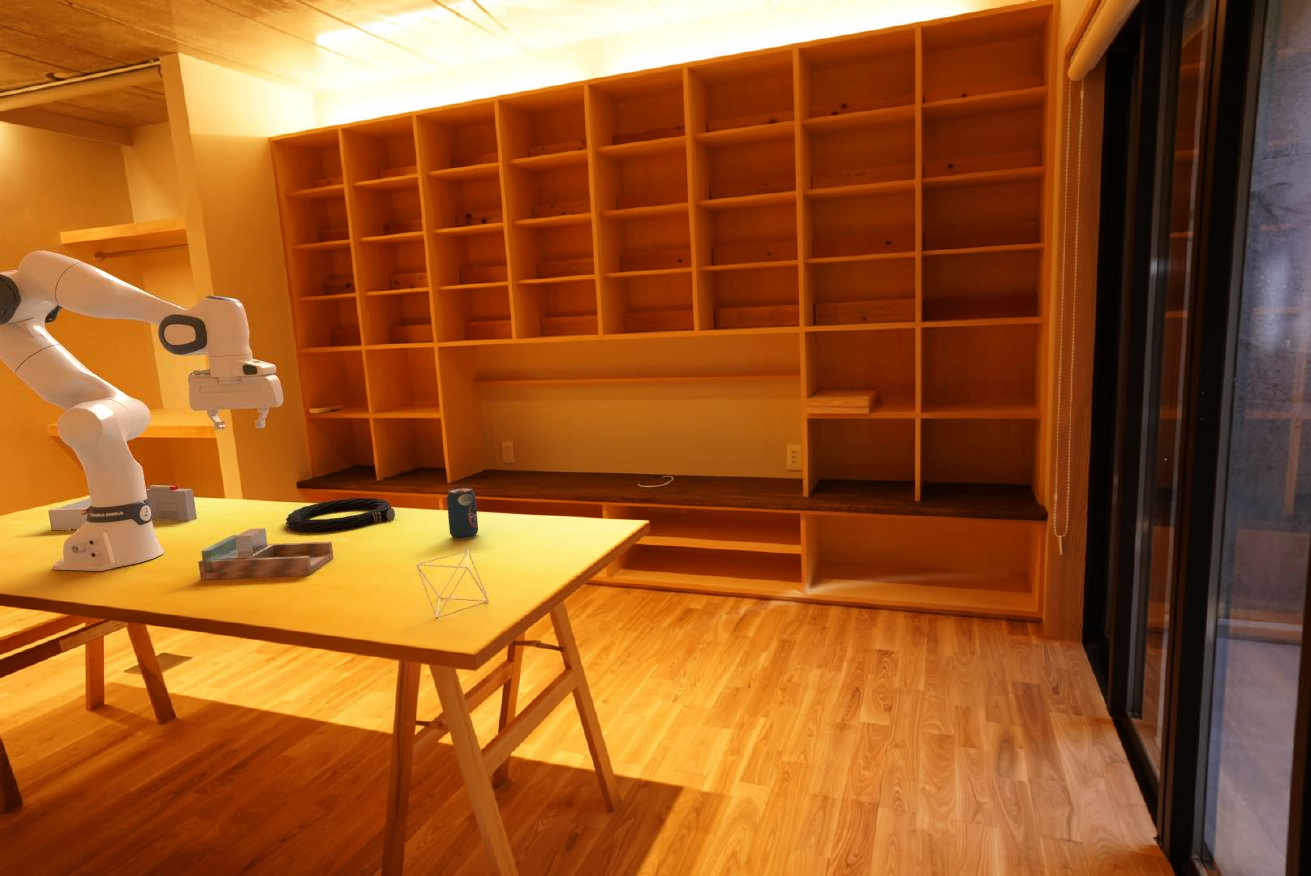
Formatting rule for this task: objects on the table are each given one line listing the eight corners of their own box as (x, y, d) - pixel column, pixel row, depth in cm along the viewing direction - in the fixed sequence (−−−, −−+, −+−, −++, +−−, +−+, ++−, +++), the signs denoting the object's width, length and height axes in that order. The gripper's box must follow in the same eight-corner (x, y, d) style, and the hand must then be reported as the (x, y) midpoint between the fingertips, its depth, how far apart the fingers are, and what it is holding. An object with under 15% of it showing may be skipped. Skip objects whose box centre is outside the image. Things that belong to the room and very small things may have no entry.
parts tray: (51, 531, 216) (48, 510, 215) (110, 510, 239) (107, 491, 238) (96, 529, 216) (92, 508, 215) (151, 508, 239) (148, 490, 238)
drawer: (200, 579, 166) (196, 550, 165) (232, 562, 178) (228, 535, 177) (309, 575, 166) (305, 546, 165) (333, 558, 177) (330, 531, 176)
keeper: (217, 569, 167) (213, 539, 166) (240, 556, 176) (236, 527, 175) (253, 568, 167) (249, 537, 166) (274, 555, 176) (270, 526, 175)
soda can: (478, 538, 188) (474, 491, 186) (449, 541, 186) (445, 493, 184) (478, 531, 195) (474, 485, 193) (450, 534, 193) (446, 488, 191)
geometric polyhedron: (413, 606, 145) (408, 560, 143) (464, 590, 152) (460, 546, 150) (444, 623, 136) (439, 575, 134) (497, 605, 143) (493, 559, 141)
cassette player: (197, 519, 223) (192, 485, 221) (188, 521, 220) (183, 487, 219) (157, 517, 228) (152, 484, 226) (149, 519, 225) (143, 486, 224)
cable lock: (325, 496, 229) (416, 496, 223) (327, 508, 230) (418, 508, 224) (261, 520, 203) (362, 521, 196) (263, 534, 203) (364, 535, 197)
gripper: (178, 371, 170) (187, 432, 172) (268, 367, 169) (276, 428, 172) (195, 369, 176) (204, 428, 178) (282, 365, 176) (290, 424, 178)
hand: (240, 428), depth 175 cm, fingers open, 8 cm apart
